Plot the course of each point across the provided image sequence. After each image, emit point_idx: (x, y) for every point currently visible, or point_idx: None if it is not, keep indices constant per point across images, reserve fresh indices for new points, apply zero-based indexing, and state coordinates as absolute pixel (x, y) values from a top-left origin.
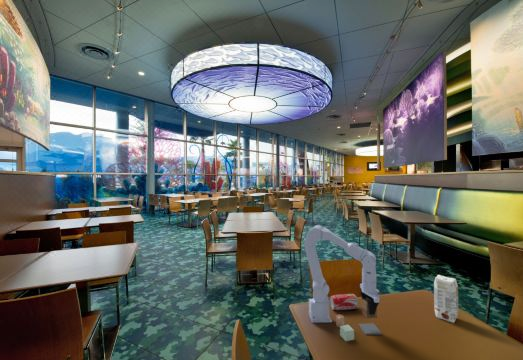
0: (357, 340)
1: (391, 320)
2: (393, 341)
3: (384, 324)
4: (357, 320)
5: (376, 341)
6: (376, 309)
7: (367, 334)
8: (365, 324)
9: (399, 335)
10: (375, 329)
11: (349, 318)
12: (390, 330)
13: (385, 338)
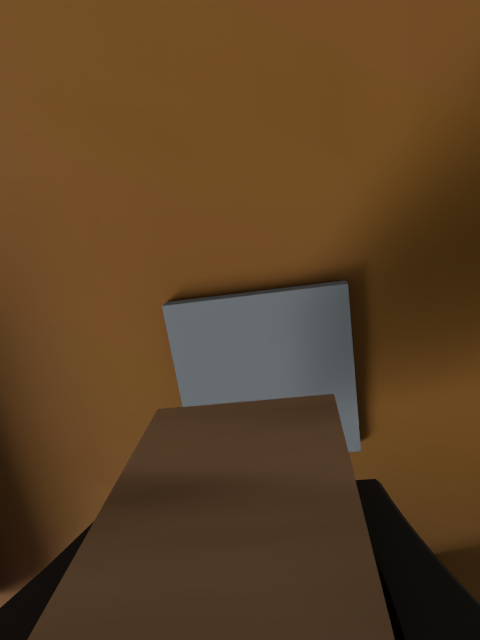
0: (447, 532)
1: (15, 31)
2: (470, 191)
3: (132, 169)
4: (113, 439)
5: (466, 375)
6: (359, 500)
7: (358, 426)
8: (197, 401)
9: (349, 59)
10: (280, 327)
11: (93, 500)
12: (252, 140)
13: (414, 263)
